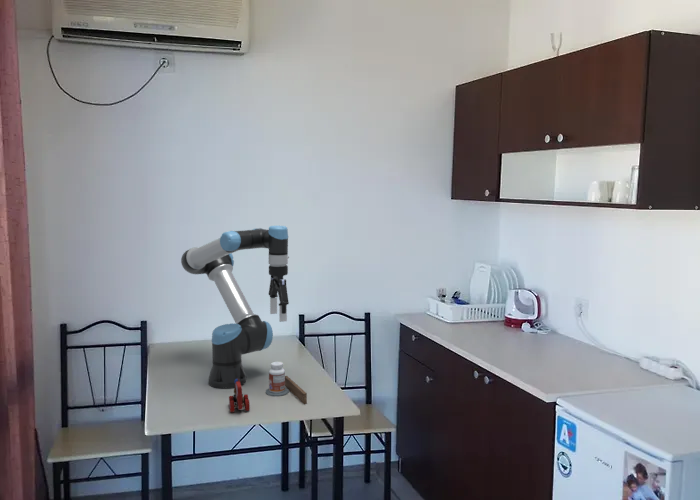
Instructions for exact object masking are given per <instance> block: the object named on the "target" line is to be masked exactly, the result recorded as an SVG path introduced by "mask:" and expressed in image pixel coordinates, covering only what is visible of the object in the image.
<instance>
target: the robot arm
mask: <svg viewBox="0 0 700 500" xmlns="http://www.w3.org/2000/svg"><path fill="white" fill-rule="evenodd" d="M288 247H289V232H288V227H287V226H286V225H270V226H269V227H268V229H264V228H261V227H259V228H253V229H247V230H245V229H244V230H229V231H224V232H223V233H221V235H220V237H219V238H217V239H214V240H212V241H211V242H208V243H206V244H203V245H202V246H199V247H198V246H196V247H192V248H189V249H187V250H185V252H183V254H182V255H181V259H180V263H181V266H182V268H183V269H184V270H185V271H186V272H187V273H189V274H191V275H204V274H206V275H207V278H208V280H210V281H211V282H214V283H215V285H216V288H217V290H218V291H219V293H220V295H221V298H222V299H223V302H224V303H225V305H226V307H227V309H228V311H229V313H230V315H231V317H232V319H233V321H234V322H235V323H224V324H221V325H218V326H217V327H215V328H214V329H213V331H212V334H211V344H212V345H211V348H212V349H211V351H212V366H211V368H210V373H209V375H208V385H209V386H210V387H212V388H216V389H233V388H234V389H235V383H234V381H235V379H239V380H240V383H241V386H243V385H244V384H246V383H247V375H246V372H245V368H244V367H243V362H242V361H243V360H242V359H243V357H242V355H246V354H250V353H254V352H261V351H263V350H265V349H268V348H269V347H270V346H271V345H272V343H273V339H274V338H273V336H274V333H273V327H272V326H271V324H270V323H269V321H266V320H263V321H262V318H260V315H258V314H255V313H254V311H253V310H252V308H251V306H250V304H249V302H248V301H247V299H246V297H245V295H244V292H243V291H242V289H241V287H240V285H239V284H238V281H237V280H236V278H235V276H234V273H233V270H234V263H235V261H234V256H233V253H236V252H238V251H242V250H251V249H252V250H253V249H268V264H269V266H268V275H269V276H270V281H269V289H268V296H269V301H270V303H269V307H270V308H269V309H270V310H269V311H270V312H269V314H270V315H275V314H279V318H278V319H279V322H280V323H281V322H283V323H284V322H287V321H288V315H287V314H288V313H287V311H288V309H287V308H288V305H289V303H290V302H289V296H288V295H289V294H288V287H287V279H284V277H285V276H287V275H288V274H289V272H288V271H289V266H288V262H289V261H288V259H289V258H290V256H289V251H288V250H289V248H288ZM278 299H279V303H278ZM278 306H279V310H278ZM278 311H279V313H278Z"/></svg>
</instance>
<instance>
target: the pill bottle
mask: <svg viewBox="0 0 700 500" xmlns="http://www.w3.org/2000/svg"><path fill="white" fill-rule="evenodd" d="M283 367H284V363H283V361H273V362H270V368H269V371H268V388H269V391H270V392H272V393H281V392H283V391H284V390H285V388H286V387H285V376H286V372H285V371H286V370H285V368H283Z"/></svg>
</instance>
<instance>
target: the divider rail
mask: <svg viewBox="0 0 700 500" xmlns="http://www.w3.org/2000/svg"><path fill="white" fill-rule="evenodd" d="M285 388H287V389H289V393H291V394H292V395H294V397H296V398H297V400H299V401H300V402H301V403H302V404H303V405H306V404H308V403H307V402H308V398H307V397H308V395H307V391H305V390H304V389H303V388H301V387H300V386H299V385H298V384H297V383H296V381H295V382H294V381H293V380H292V379H291V377H289V376H288V375H285Z"/></svg>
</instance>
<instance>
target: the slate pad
mask: <svg viewBox="0 0 700 500" xmlns="http://www.w3.org/2000/svg"><path fill="white" fill-rule="evenodd" d="M289 393H290V391H289V389H287V388H286V387H285V390H284V391H283V392H281V393H272V392H270V391H269V387H268V388H267V389H266V390H265V394H266V395H268V396H271V397H283V396H286V395H288V394H289Z"/></svg>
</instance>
